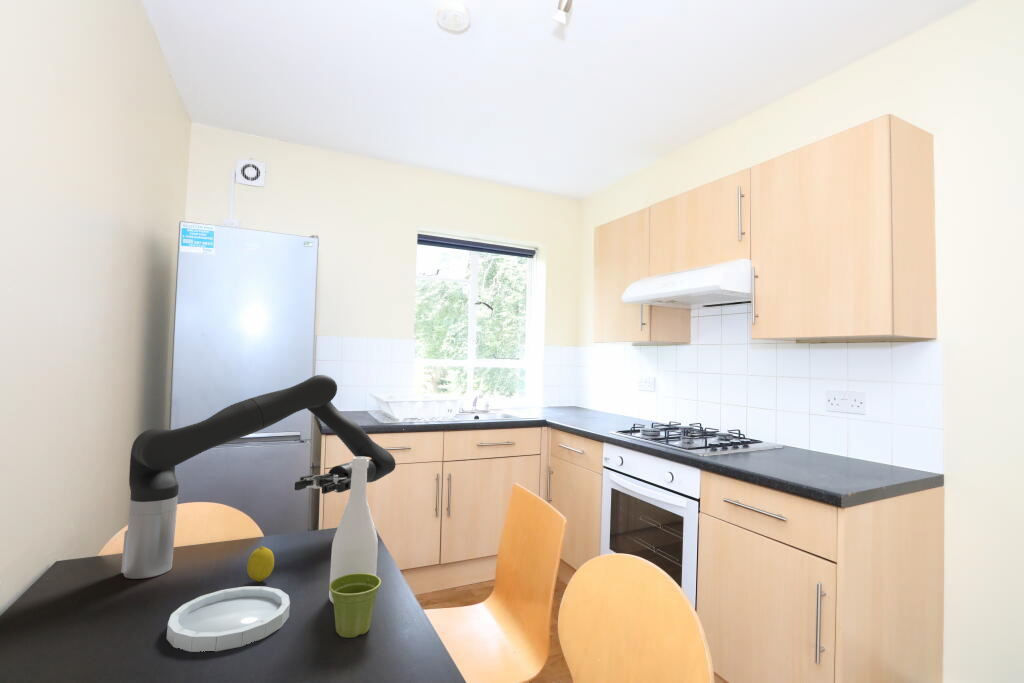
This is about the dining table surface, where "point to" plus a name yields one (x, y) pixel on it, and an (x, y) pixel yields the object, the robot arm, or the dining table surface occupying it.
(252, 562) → the lemon
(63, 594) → the dining table surface
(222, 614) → the dish
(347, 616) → the plant pot
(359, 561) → the wine bottle
